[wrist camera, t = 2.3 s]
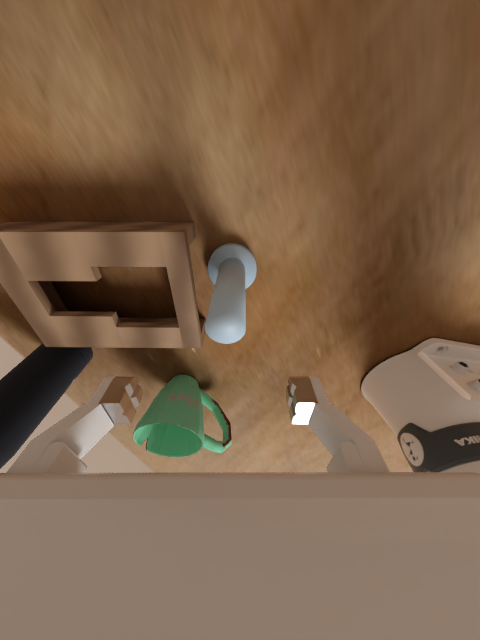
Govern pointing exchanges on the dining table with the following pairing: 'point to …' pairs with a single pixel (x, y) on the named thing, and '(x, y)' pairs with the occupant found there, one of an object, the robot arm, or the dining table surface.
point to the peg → (229, 291)
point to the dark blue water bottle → (35, 392)
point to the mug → (180, 421)
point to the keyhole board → (82, 265)
